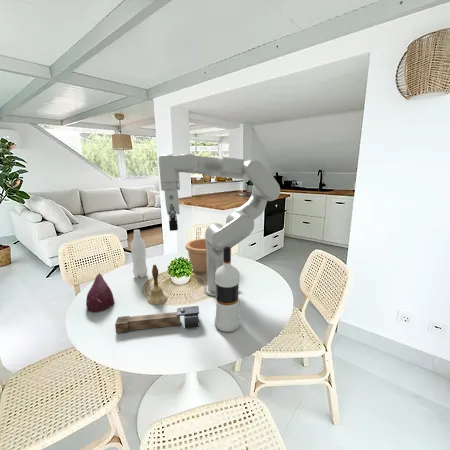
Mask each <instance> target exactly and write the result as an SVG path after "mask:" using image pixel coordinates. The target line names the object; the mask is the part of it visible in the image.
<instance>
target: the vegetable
mask: <svg viewBox="0 0 450 450" xmlns="http://www.w3.org/2000/svg"><path fill="white" fill-rule="evenodd" d="M113 294H114V293H113V291H112V290H111V288H110V286H109V285H108V284H107V282H106V280H105V279H104V277H103V275H102V274H101V273H97V275H96V276H95V278H94V281H93V283H92V285H91V287H90V288H89V290H88V292H87V295H86V301H85V302H86V304H85V305H86V309H87V311H88V312H90V313H96V314H97V313H101V312H104V311H107V310H108V309H110V308H112V306H114V304H115V298H114V295H113Z"/></svg>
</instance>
